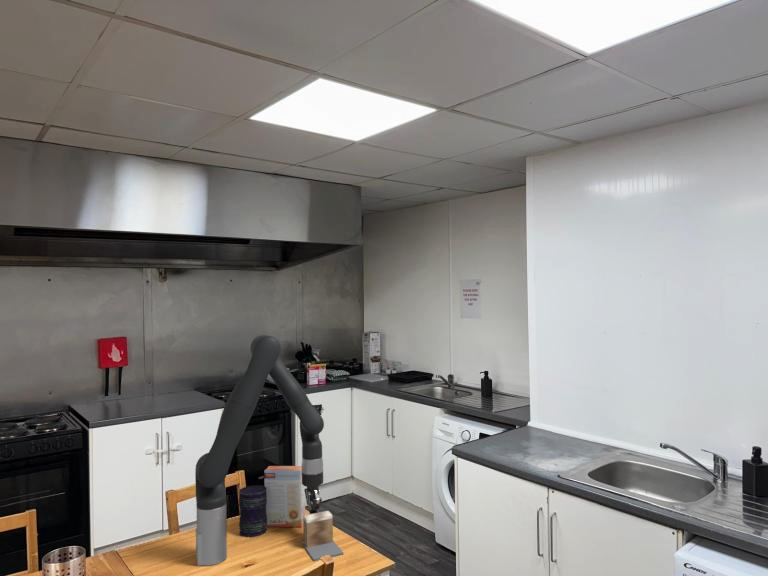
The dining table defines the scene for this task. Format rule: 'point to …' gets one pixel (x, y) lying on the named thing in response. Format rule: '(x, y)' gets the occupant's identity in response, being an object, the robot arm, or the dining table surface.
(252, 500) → the storage jar
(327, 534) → the brown and white block
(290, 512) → the cracker box
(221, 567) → the dining table surface
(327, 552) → the mat
